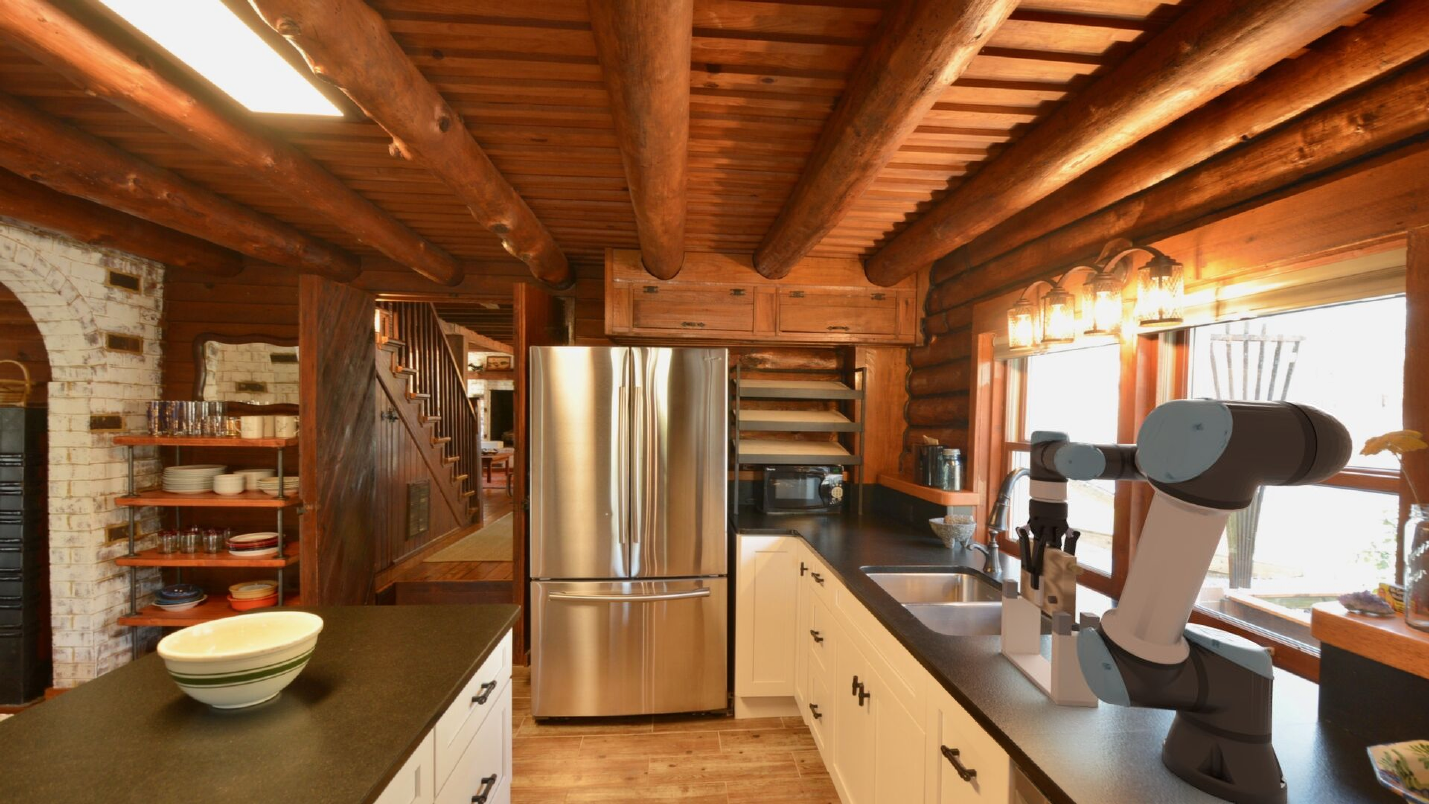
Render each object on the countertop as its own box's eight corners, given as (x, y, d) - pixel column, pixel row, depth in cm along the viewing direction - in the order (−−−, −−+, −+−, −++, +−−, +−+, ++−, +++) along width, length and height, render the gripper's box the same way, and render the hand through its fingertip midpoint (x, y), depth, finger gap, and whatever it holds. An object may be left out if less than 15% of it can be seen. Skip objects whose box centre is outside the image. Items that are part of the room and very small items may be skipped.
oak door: (1085, 631, 112) (1086, 561, 112) (1066, 630, 112) (1067, 560, 112) (1023, 591, 137) (1025, 534, 137) (1008, 590, 137) (1009, 533, 137)
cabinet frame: (1098, 707, 111) (1100, 617, 112) (1057, 704, 112) (1059, 615, 112) (1034, 653, 136) (1035, 580, 136) (1000, 652, 136) (1002, 578, 137)
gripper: (1074, 498, 128) (1071, 600, 128) (1004, 495, 129) (1002, 597, 128) (1094, 503, 120) (1092, 612, 120) (1020, 500, 121) (1018, 608, 121)
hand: (1045, 604), depth 124 cm, fingers closed on oak door, 2 cm apart
